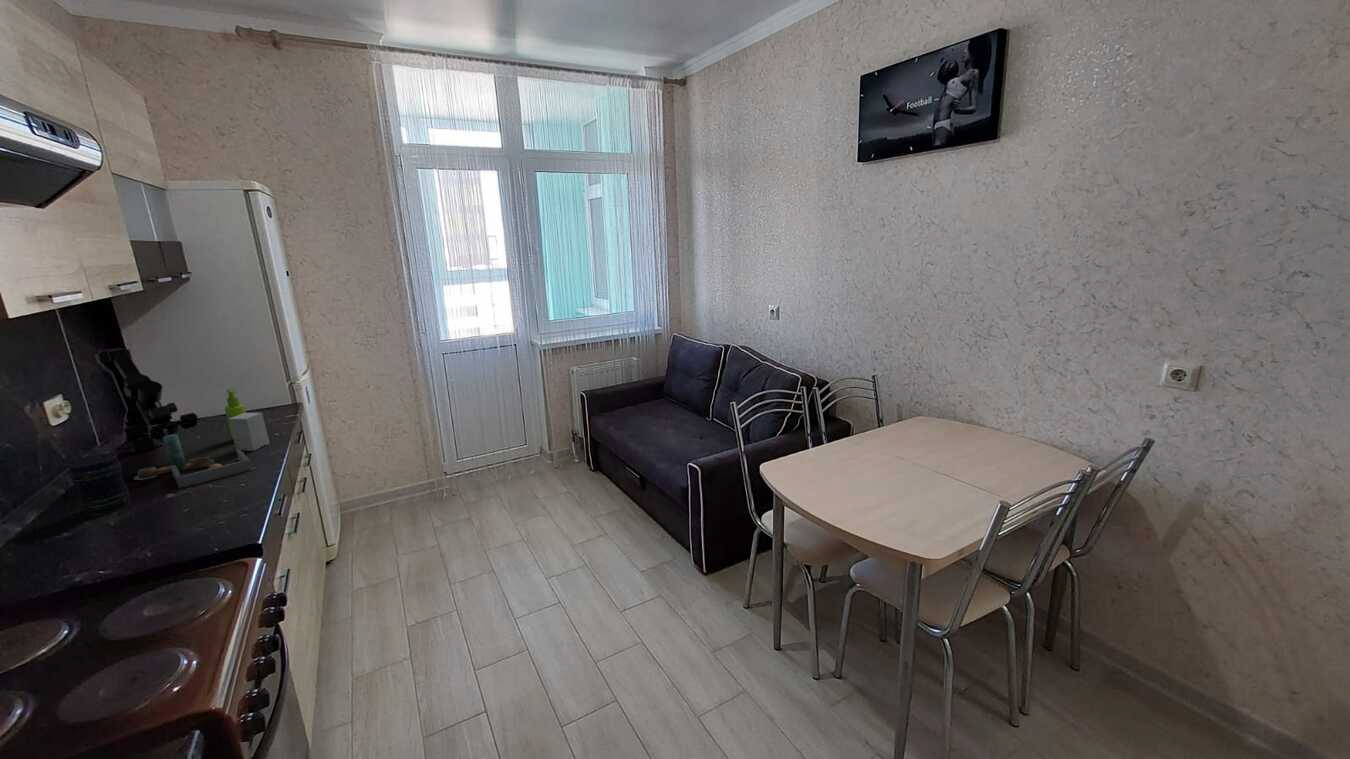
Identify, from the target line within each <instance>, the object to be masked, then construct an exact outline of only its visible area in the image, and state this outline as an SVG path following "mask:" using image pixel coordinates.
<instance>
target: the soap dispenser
mask: <svg viewBox="0 0 1350 759" xmlns="http://www.w3.org/2000/svg"><path fill="white" fill-rule="evenodd" d="M225 391H226V392H227V393H228V394H227V395H228V398H226V400H227V405H228V406H227V407H224V410H225V415H226V419H227V422H228V423H227V424H228V427H229V431H230V435H231V438H232V440H233V435H232V431H231V427H230V424H229V420H228V419H230V418H232V417H235V416H238V415H240V414H243V413H247V412H246V408H245V404H240V401H239V397H238V396H236V395H235V394H238V393H237V390H236V389H234V388H229V389H226V390H225Z"/></svg>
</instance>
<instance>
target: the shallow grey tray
mask: <svg viewBox="0 0 1350 759" xmlns="http://www.w3.org/2000/svg"><path fill="white" fill-rule="evenodd" d="M235 452H236V456H237V459H238V461H236V462H232V463H227V464H224V465H222V466H219V467H215V468H211V469H208V468H207V469H204V470H199V471H196V472H191V473H188V474H183V475H181V474H180V471H178V469H177V467H176V465H173V466H171V465H170V466H171V470H172V472H171V474H172V477H173V478H174V481H175V482H176V485H177V487H178V489H179V488H180V489H182V488H181V487H184V488H187V487H186V486H188V487H190V486H189V485H192V486H194V484H195V485H198V484H202V483H205V482H206V483H207V482H211V481H213V480H214V481H215V480H217V479H221V478H225V477H228V476H229V477H230V476H232V475H236V474H241V473H244V472H248V471H252V470H253V468H252V464H251V460H250V459H249V458H248V457H247V456H246V454H245V452H244V451H241V450H235Z"/></svg>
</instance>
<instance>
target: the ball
mask: <svg viewBox="0 0 1350 759" xmlns="http://www.w3.org/2000/svg"><path fill="white" fill-rule="evenodd" d="M219 466H223V465H222V464H220V463H214V464H213V465H211V466H208V468H207V469H211V468H215V467H219Z"/></svg>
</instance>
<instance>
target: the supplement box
mask: <svg viewBox="0 0 1350 759" xmlns="http://www.w3.org/2000/svg"><path fill="white" fill-rule="evenodd" d="M228 420H229V423H228V425H229V424H230V427H231V431H232V435H233V439H234V441H233V442H234V446H235V449H236V450H243V451H242V452H254V450H255V451H257V450H259V449H258V448H260V447H262V446H264V445H266V446H268V445H270V444H269V443H270V440H269V435H268V432H267V428H266V423H265V419H264V414H263V412H246V413H243V414H240V415H238V416H235V417H232V418H230V419H227V421H228ZM230 427H229V428H230ZM231 431H230V432H231ZM232 435H231V436H232ZM233 439H232V440H233ZM267 444H268V445H267ZM264 447H265V446H264ZM262 448H263V447H262ZM256 449H257V450H256ZM260 449H261V448H260ZM236 450H235V451H236ZM245 450H246V451H245Z"/></svg>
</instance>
